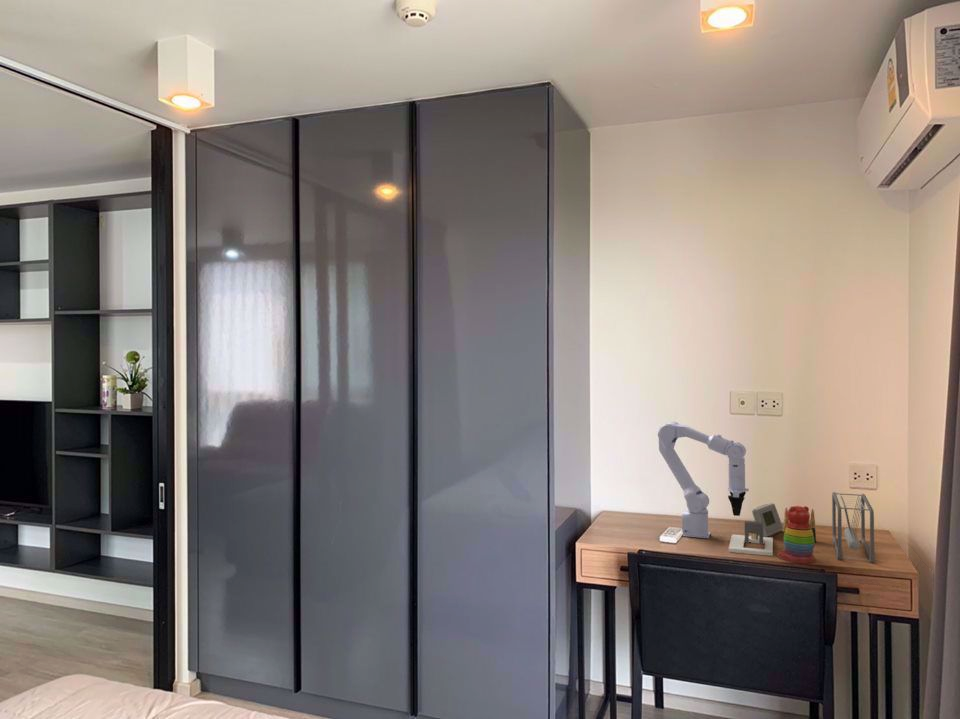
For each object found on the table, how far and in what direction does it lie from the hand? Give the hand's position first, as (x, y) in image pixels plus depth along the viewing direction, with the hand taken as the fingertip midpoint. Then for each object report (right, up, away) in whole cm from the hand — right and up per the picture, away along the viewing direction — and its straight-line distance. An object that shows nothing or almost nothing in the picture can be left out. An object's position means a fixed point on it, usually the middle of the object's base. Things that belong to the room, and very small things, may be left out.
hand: (737, 513), depth 255 cm
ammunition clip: (+22, -10, -2) cm, 24 cm away
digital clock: (+15, -10, +8) cm, 20 cm away
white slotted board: (+2, -10, -8) cm, 13 cm away
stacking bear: (+11, -10, -24) cm, 29 cm away
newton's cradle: (+34, -10, -15) cm, 39 cm away
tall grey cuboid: (+2, -8, -11) cm, 13 cm away
